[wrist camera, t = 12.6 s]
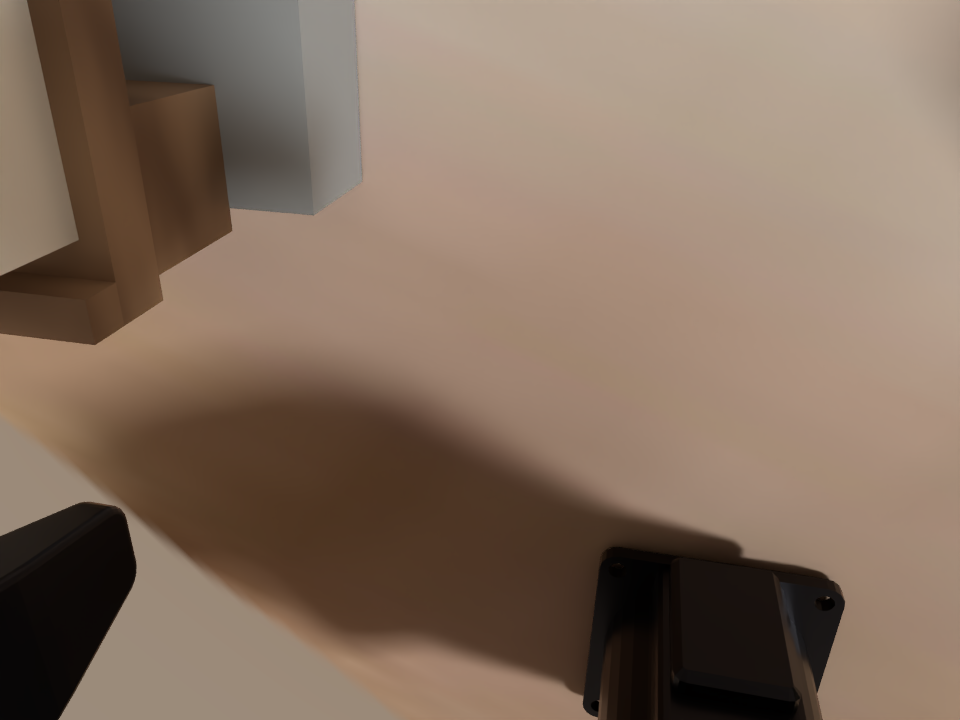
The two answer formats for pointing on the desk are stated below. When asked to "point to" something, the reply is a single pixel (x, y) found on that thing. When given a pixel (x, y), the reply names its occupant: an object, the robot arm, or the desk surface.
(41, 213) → the block
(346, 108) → the dock
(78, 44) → the pallet
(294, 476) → the desk surface
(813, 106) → the desk surface
